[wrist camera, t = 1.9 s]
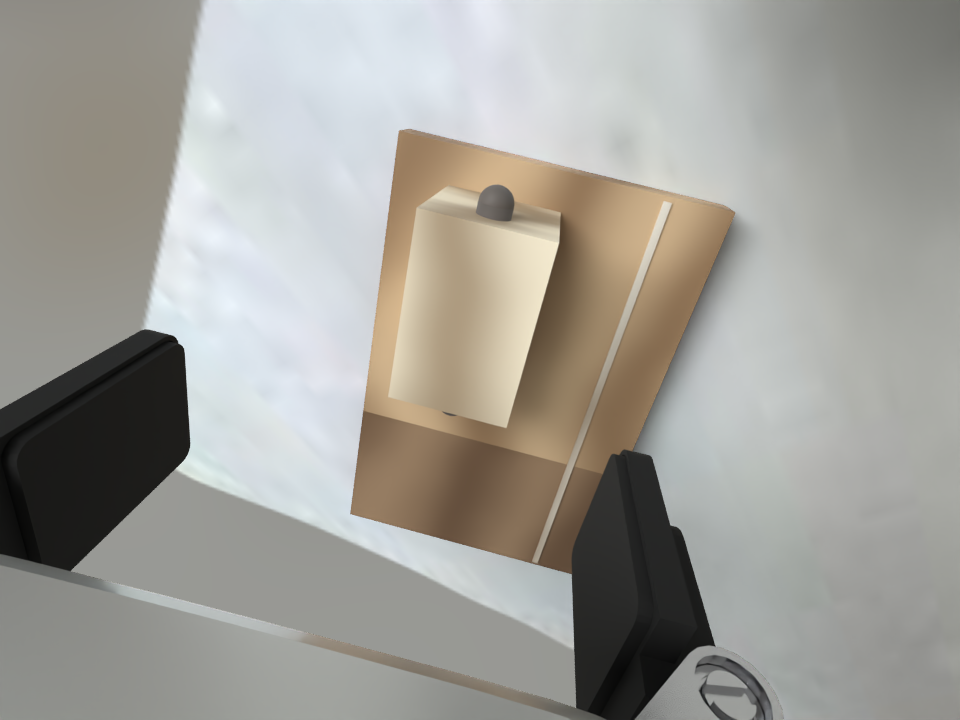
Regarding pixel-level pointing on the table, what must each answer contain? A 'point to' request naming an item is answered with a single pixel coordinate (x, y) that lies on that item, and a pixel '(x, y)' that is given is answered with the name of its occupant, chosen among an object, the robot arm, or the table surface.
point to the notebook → (535, 355)
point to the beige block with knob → (472, 301)
